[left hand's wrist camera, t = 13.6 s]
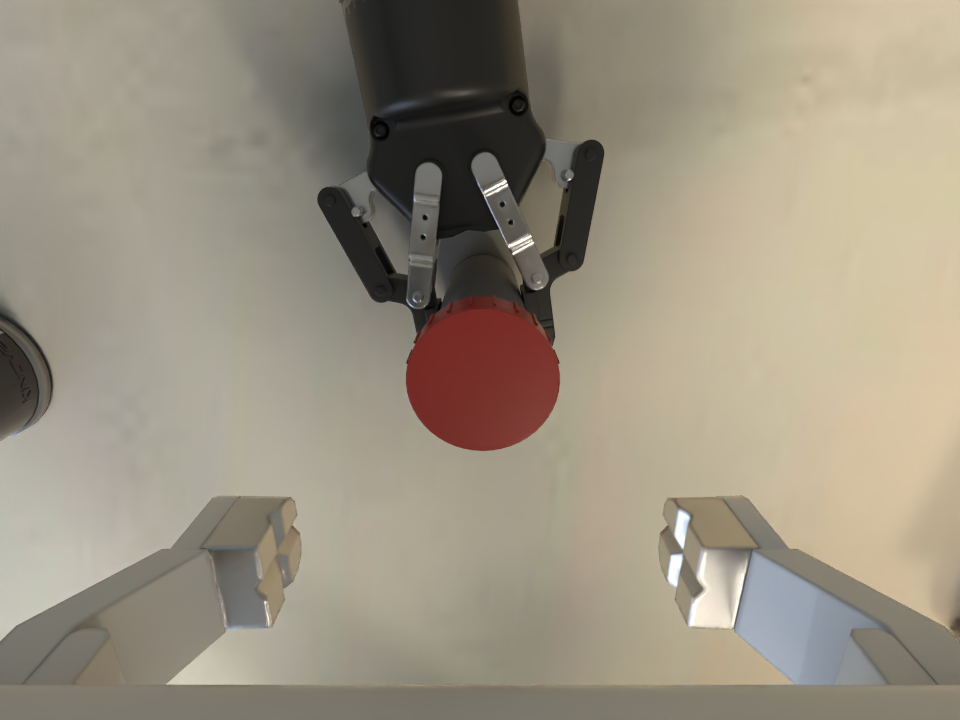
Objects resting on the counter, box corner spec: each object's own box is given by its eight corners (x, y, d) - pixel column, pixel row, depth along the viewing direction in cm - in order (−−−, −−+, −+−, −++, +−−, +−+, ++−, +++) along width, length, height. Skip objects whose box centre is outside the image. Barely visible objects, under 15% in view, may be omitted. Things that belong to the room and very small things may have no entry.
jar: (495, 241, 32) (506, 296, 17) (529, 300, 33) (565, 399, 19) (435, 276, 32) (398, 357, 18) (470, 333, 34) (461, 451, 19)
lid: (511, 265, 18) (514, 275, 17) (580, 389, 20) (589, 409, 18) (382, 339, 19) (372, 355, 18) (458, 451, 21) (456, 476, 19)
